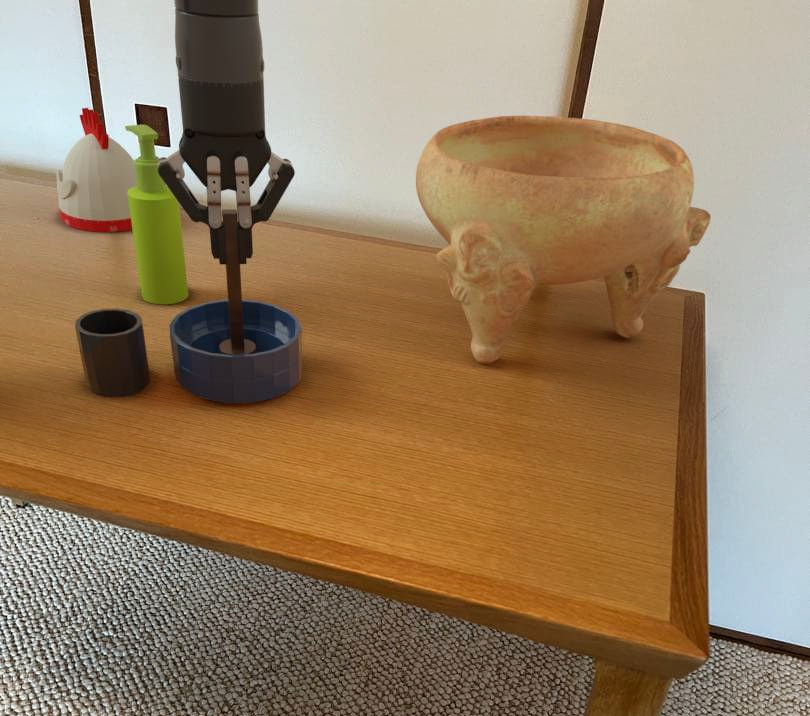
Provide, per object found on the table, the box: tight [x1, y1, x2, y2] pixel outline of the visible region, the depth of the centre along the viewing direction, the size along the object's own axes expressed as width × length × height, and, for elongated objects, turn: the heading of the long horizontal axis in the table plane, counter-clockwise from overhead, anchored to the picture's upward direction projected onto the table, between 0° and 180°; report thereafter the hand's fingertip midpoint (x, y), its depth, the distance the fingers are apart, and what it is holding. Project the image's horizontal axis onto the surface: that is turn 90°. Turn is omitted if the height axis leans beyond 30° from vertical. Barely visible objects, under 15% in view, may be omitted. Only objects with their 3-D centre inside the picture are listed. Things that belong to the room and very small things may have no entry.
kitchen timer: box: [55, 107, 137, 233], centre depth 123 cm, size 14×14×15 cm
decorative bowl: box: [415, 115, 711, 365], centre depth 101 cm, size 34×35×23 cm
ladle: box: [219, 208, 256, 355], centre depth 86 cm, size 4×4×16 cm
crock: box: [74, 307, 151, 398], centre depth 87 cm, size 7×7×7 cm
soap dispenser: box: [124, 124, 189, 306], centre depth 101 cm, size 6×7×20 cm
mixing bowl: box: [169, 298, 303, 404], centre depth 90 cm, size 14×14×6 cm
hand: (232, 261), depth 83 cm, fingers closed on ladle, 1 cm apart
